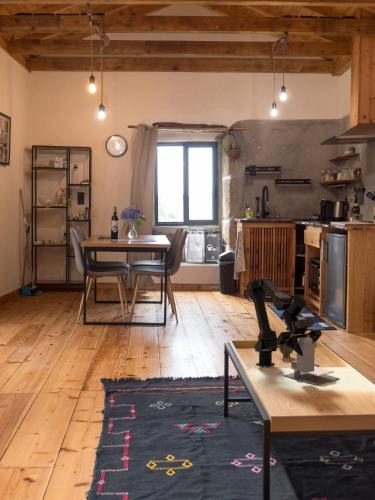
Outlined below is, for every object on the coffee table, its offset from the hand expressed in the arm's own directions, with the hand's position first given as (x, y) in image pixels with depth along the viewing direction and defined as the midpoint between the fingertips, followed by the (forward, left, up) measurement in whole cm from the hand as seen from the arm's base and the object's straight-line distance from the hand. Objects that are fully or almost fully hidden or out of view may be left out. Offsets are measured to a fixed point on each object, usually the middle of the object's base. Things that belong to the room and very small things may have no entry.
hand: (307, 354), depth 211 cm
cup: (-36, -27, -12) cm, 47 cm away
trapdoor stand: (-10, -3, -12) cm, 16 cm away
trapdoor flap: (-10, -2, -9) cm, 13 cm away
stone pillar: (-1, -1, -7) cm, 7 cm away
